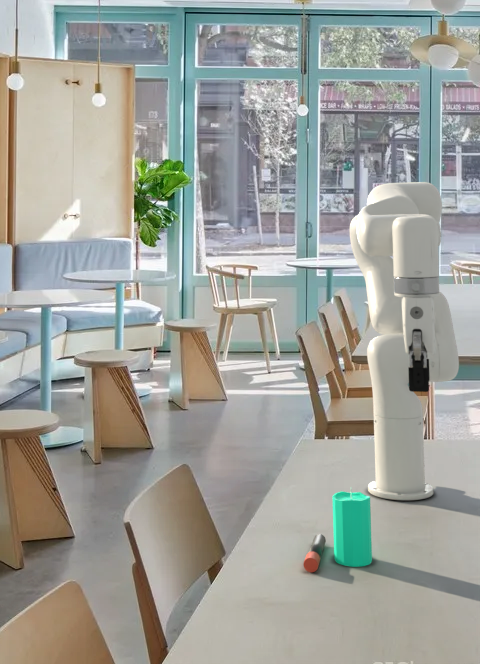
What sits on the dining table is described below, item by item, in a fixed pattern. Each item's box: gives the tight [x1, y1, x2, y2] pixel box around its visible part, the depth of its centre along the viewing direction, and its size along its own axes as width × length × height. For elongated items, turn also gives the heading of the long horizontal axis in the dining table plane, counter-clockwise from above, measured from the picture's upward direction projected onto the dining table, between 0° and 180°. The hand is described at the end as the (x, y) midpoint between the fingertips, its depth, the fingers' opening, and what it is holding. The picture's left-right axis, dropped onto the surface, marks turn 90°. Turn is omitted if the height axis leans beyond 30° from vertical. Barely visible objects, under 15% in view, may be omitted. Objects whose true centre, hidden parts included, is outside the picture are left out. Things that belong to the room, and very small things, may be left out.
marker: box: [302, 533, 327, 573], centre depth 168 cm, size 14×2×2 cm, turn 162°
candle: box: [331, 486, 373, 568], centre depth 167 cm, size 6×6×12 cm
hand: (419, 386), depth 177 cm, fingers open, 9 cm apart
